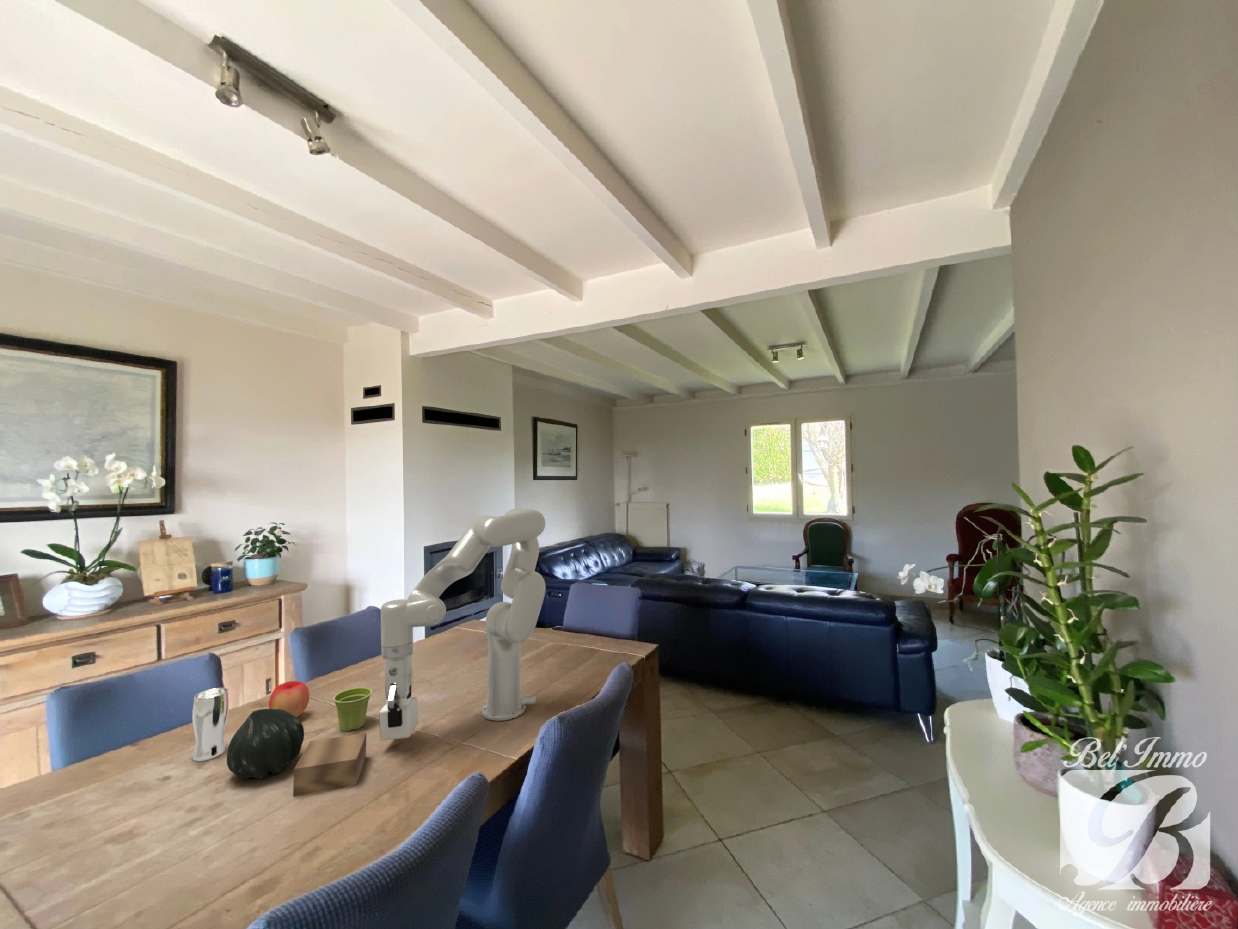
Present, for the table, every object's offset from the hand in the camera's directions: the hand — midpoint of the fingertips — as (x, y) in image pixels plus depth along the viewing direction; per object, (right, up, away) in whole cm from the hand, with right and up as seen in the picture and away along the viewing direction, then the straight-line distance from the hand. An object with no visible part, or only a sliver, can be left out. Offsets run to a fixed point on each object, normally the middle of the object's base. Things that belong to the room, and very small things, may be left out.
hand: (399, 718), depth 123 cm
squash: (-26, -7, -11) cm, 29 cm away
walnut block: (-9, -6, -13) cm, 17 cm away
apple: (-38, -8, +13) cm, 41 cm away
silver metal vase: (-45, -7, -5) cm, 46 cm away
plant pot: (-17, -8, +10) cm, 21 cm away
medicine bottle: (0, -4, 0) cm, 4 cm away
